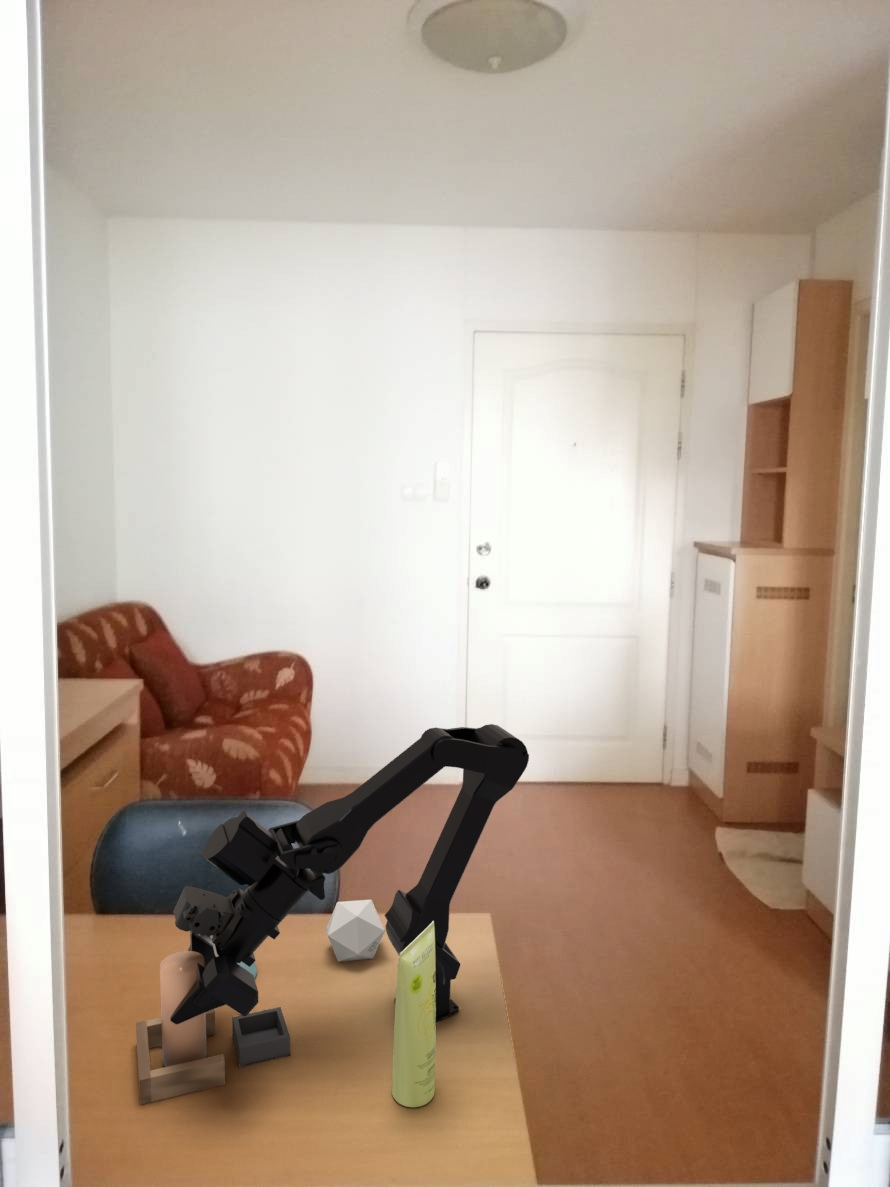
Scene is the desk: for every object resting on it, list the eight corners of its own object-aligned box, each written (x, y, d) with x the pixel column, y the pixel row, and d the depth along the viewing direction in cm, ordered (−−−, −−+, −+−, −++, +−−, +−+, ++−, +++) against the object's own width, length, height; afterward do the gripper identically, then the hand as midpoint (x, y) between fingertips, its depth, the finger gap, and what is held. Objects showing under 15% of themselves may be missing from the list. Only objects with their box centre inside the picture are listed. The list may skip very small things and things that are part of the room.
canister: (212, 1060, 99) (210, 966, 97) (170, 1077, 96) (167, 981, 94) (198, 1036, 103) (196, 946, 101) (157, 1051, 100) (154, 959, 98)
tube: (440, 1109, 93) (445, 947, 90) (395, 1116, 92) (399, 952, 89) (429, 1074, 99) (434, 920, 96) (387, 1080, 98) (390, 924, 95)
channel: (213, 1028, 106) (213, 1006, 105) (224, 1084, 96) (224, 1060, 96) (136, 1044, 102) (136, 1022, 102) (140, 1104, 93) (139, 1080, 92)
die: (366, 982, 117) (400, 918, 120) (313, 952, 117) (348, 888, 119) (361, 969, 125) (392, 909, 128) (311, 941, 124) (344, 881, 127)
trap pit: (280, 1024, 107) (280, 1006, 106) (290, 1055, 101) (290, 1036, 101) (232, 1035, 104) (232, 1017, 104) (239, 1067, 99) (239, 1048, 99)
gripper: (206, 833, 106) (116, 930, 103) (226, 905, 89) (118, 1023, 86) (269, 881, 110) (183, 976, 108) (300, 959, 93) (199, 1073, 90)
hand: (171, 1007), depth 98 cm, fingers closed on canister, 5 cm apart
